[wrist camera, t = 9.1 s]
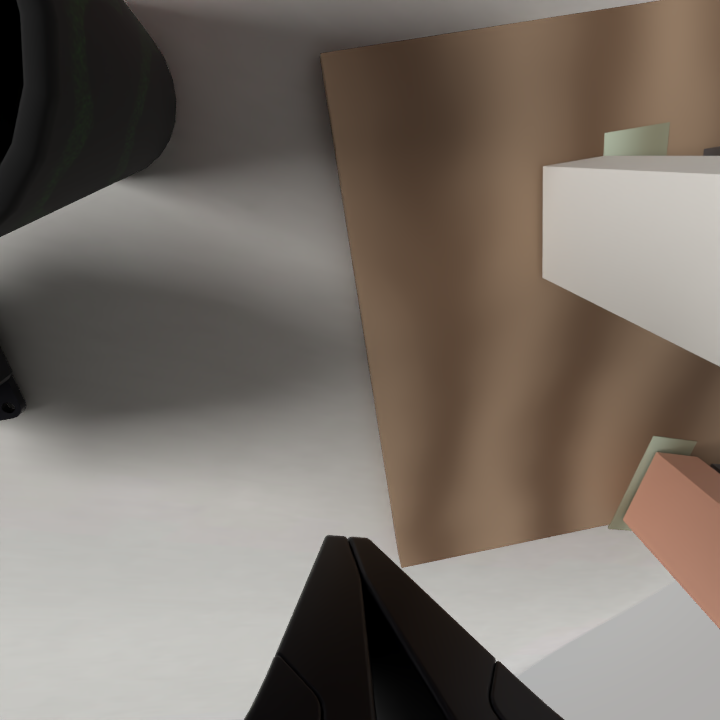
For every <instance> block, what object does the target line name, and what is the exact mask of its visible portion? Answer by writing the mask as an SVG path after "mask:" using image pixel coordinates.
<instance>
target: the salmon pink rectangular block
mask: <svg viewBox="0 0 720 720" xmlns="http://www.w3.org/2000/svg"><path fill="white" fill-rule="evenodd" d="M623 521H624V522H625V523H626V524H627V525H628V527H629V528H630V529H631V530H632V531H633V532H634V533H635V534H636V535H637V537H638V538H639V539H640V540H641V541H642V542H643V543H644V544H645V546H646V547H647V548H648V549H649V550H650V551H651V552H652V553H653V555H654V556H655V557H656V558H657V559H658V560H659V561H660V562H661V564H662V565H663V566H664V567H665V568H666V569H667V570H668V571H669V573H670V574H671V575H672V576H673V577H674V578H675V579H676V580H677V582H678V583H679V584H680V585H681V586H682V587H683V588H684V589H685V590H686V592H687V593H688V594H689V595H690V596H691V597H692V598H693V600H694V601H695V602H696V603H697V604H698V605H699V606H700V607H701V609H702V610H703V611H704V612H705V613H706V614H707V615H708V616H709V618H710V619H711V620H712V621H713V622H714V623H715V624H716V625H717V626H718V628H719V629H720V474H719V473H718V472H717V471H715V470H714V469H713V468H711V467H710V466H709V465H708V464H706V463H705V462H704V461H702V460H701V459H700V458H698V457H694V456H686V455H677V454H669V453H660V452H656V454H655V456H654V458H653V460H652V462H651V464H650V466H649V468H648V470H647V472H646V474H645V476H644V478H643V480H642V482H641V484H640V486H639V488H638V490H637V492H636V494H635V496H634V498H633V500H632V502H631V504H630V506H629V508H628V510H627V512H626V514H625V516H624V518H623Z"/></svg>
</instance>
